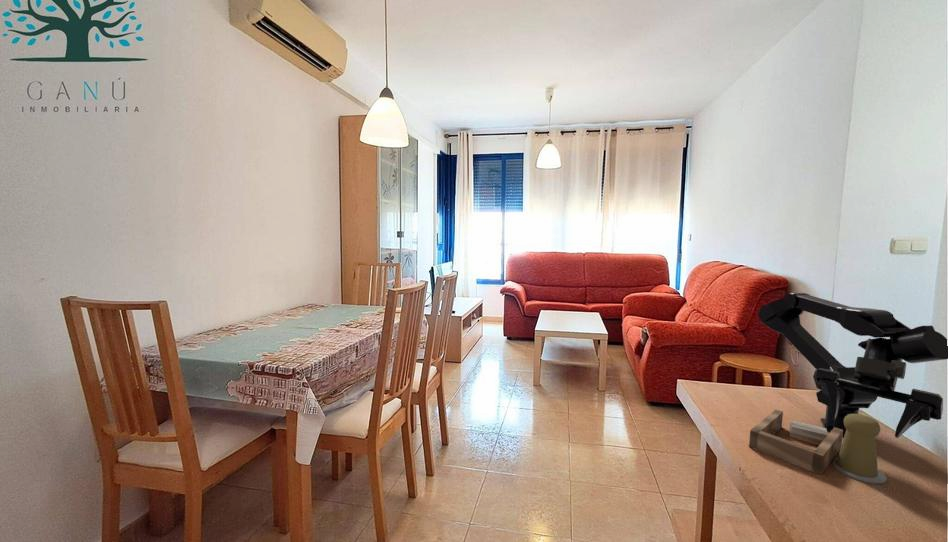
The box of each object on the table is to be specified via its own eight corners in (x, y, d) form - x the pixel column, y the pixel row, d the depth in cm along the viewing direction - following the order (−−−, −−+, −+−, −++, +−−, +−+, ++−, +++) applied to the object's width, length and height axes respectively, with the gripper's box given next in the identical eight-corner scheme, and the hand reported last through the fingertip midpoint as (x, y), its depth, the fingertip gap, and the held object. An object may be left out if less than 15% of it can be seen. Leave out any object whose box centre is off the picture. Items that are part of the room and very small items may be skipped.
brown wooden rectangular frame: (774, 424, 97) (775, 409, 97) (841, 446, 87) (843, 429, 87) (749, 447, 87) (750, 430, 87) (821, 474, 77) (823, 456, 77)
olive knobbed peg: (834, 467, 79) (839, 416, 77) (838, 456, 83) (843, 407, 81) (877, 482, 74) (883, 427, 73) (878, 469, 78) (885, 417, 77)
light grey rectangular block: (789, 431, 94) (790, 419, 94) (828, 441, 90) (829, 429, 90) (789, 438, 91) (790, 426, 91) (829, 449, 87) (830, 436, 86)
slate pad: (829, 456, 83) (829, 454, 83) (879, 468, 79) (879, 466, 79) (837, 475, 77) (838, 472, 77) (892, 489, 73) (892, 486, 73)
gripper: (819, 333, 88) (799, 391, 83) (948, 354, 73) (933, 427, 68) (826, 359, 93) (807, 416, 88) (948, 385, 78) (934, 454, 73)
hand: (863, 426), depth 79 cm, fingers open, 9 cm apart
